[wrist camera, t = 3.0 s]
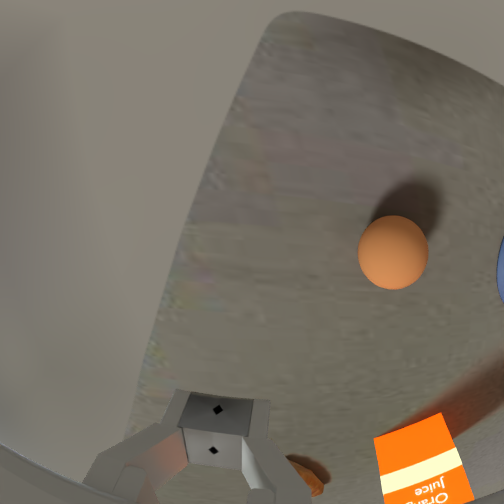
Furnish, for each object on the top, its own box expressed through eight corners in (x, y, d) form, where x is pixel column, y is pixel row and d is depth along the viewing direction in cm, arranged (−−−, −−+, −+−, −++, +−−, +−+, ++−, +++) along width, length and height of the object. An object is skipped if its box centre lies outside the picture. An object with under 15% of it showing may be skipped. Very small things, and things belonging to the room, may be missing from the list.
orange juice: (444, 444, 31) (480, 563, 12) (383, 467, 33) (399, 592, 14) (441, 411, 30) (490, 549, 11) (372, 437, 32) (392, 585, 13)
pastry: (335, 475, 35) (336, 497, 31) (302, 493, 37) (301, 513, 33) (282, 453, 34) (280, 476, 31) (251, 472, 36) (247, 494, 33)
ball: (418, 213, 24) (445, 227, 19) (408, 275, 26) (430, 302, 21) (356, 206, 25) (371, 220, 20) (348, 271, 26) (360, 299, 21)
